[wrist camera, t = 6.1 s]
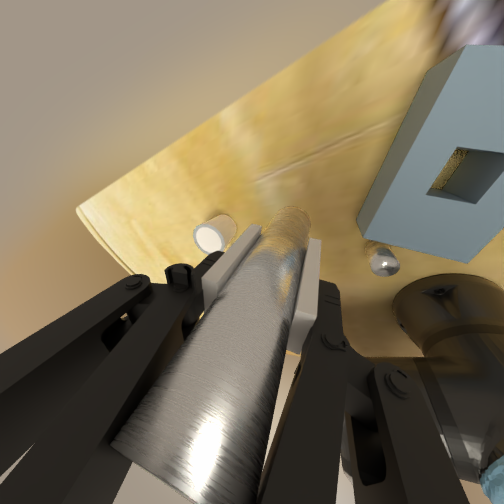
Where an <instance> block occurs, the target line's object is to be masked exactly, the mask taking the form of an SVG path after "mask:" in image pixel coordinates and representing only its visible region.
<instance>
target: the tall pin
mask: <svg viewBox="0 0 504 504" xmlns="http://www.w3.org/2000/svg"><path fill="white" fill-rule="evenodd" d="M310 227H311V222H310V218H309V216H308V215H307V213H306V212H305V211H304V210H302V209H300V208H298V207H293V206H289V207H285V208H282V209H281V210H279V211H278V212H277V213H276V215H275V216H274V217H273V219H272V220H271V222H270V223H269V224H268V226H267V227H266V229H265V230H264V231H263V233H262V234H261V235H260V237H259V238H258V240H257V241H256V242H255V244H254V245H253V247H252V248H251V249H250V251H249V252H248V254H247V255H246V256H245V258H244V259H243V260H242V262H241V263H240V265H239V266H238V267H237V269H236V270H235V272H234V273H233V274H232V276H231V277H230V279H229V280H228V281H227V283H226V284H225V285H224V287H223V288H222V290H221V291H220V292H219V294H218V295H217V297H216V298H215V299H214V301H213V302H212V304H211V305H210V306H209V308H208V309H207V310H206V312H205V313H204V315H203V316H202V317H201V319H200V320H199V322H198V323H197V324H196V326H195V327H194V329H193V330H192V331H191V333H190V334H189V335H188V337H187V338H186V340H185V341H184V342H183V344H182V345H181V347H180V348H179V349H178V351H177V352H176V353H175V355H174V356H173V358H172V359H171V360H170V362H169V363H168V365H167V366H166V367H165V369H164V370H163V372H162V373H161V374H160V376H159V377H158V378H157V380H156V381H155V383H154V384H153V385H152V387H151V388H150V390H149V391H148V392H147V394H146V395H145V397H144V398H143V399H142V401H141V402H140V403H139V405H138V406H137V408H136V409H135V410H134V412H133V413H132V415H131V416H130V417H129V419H128V420H127V422H126V423H125V424H124V426H123V427H122V428H121V430H120V431H119V433H118V434H117V435H116V437H115V438H114V440H113V441H112V442H111V444H110V446H112V447H113V448H114V449H116V450H117V451H118V452H120V453H121V454H122V455H124V456H125V457H127V458H128V459H129V460H131V461H132V462H134V463H135V464H136V465H138V466H139V467H141V468H142V469H144V470H145V471H146V472H148V473H149V474H151V475H152V476H154V477H155V478H157V479H158V480H160V481H161V482H163V483H164V484H165V485H167V486H168V487H170V488H171V489H173V490H174V491H175V492H177V493H178V494H180V495H181V496H183V497H184V498H186V499H187V500H189V501H190V502H192V503H193V504H256V500H257V495H258V490H259V485H260V480H261V475H262V470H263V465H264V459H265V455H266V449H267V445H268V440H269V434H270V430H271V424H272V419H273V414H274V409H275V404H276V399H277V394H278V389H279V384H280V379H281V374H282V369H283V364H284V358H285V354H286V349H287V344H288V338H289V333H290V328H291V323H292V318H293V313H294V308H295V303H296V298H297V293H298V288H299V283H300V278H301V272H302V267H303V262H304V257H305V252H306V247H307V242H308V237H309V232H310Z"/></svg>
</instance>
